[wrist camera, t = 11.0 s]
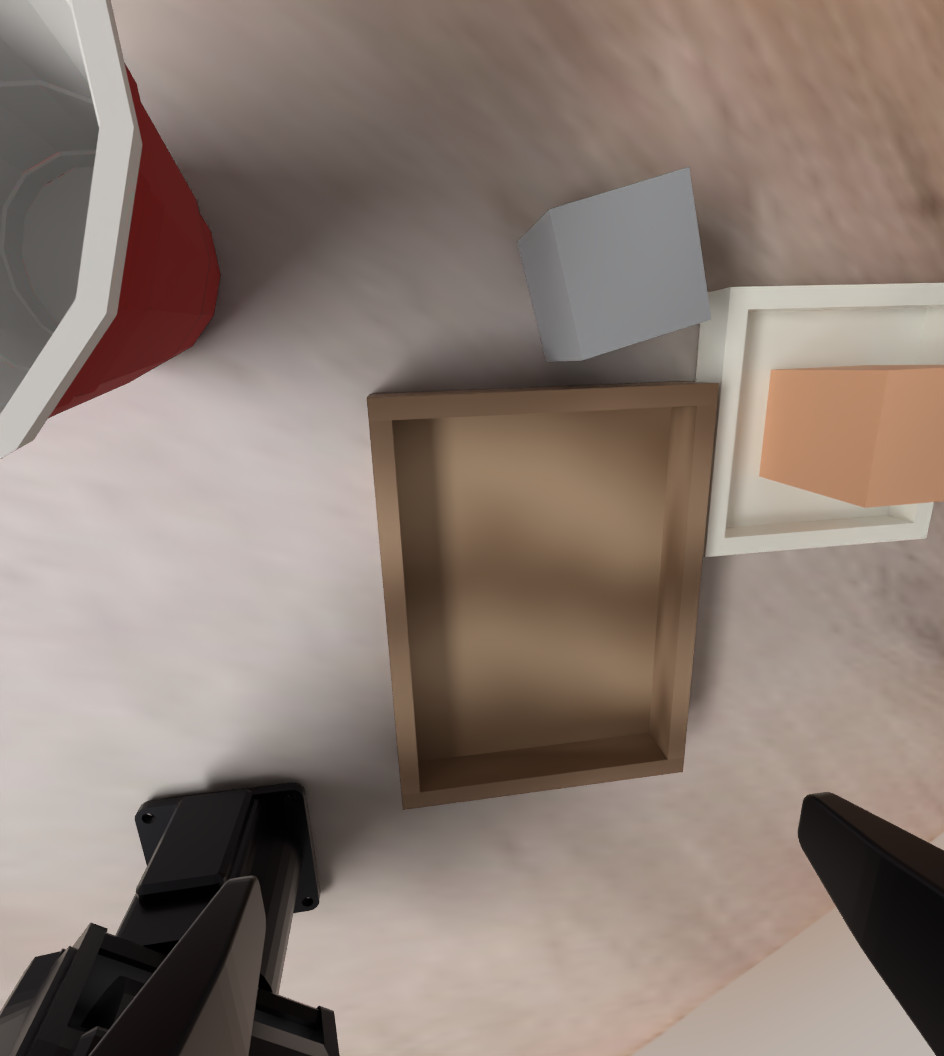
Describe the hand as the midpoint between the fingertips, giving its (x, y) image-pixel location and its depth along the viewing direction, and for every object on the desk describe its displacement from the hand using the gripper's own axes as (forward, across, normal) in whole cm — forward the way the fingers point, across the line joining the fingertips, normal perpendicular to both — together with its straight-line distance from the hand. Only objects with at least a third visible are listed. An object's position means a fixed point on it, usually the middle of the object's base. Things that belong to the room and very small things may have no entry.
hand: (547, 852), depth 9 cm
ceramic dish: (+13, -14, -5) cm, 20 cm away
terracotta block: (+12, -14, -5) cm, 19 cm away
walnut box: (+13, -3, +1) cm, 13 cm away
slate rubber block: (+13, -5, -10) cm, 17 cm away
